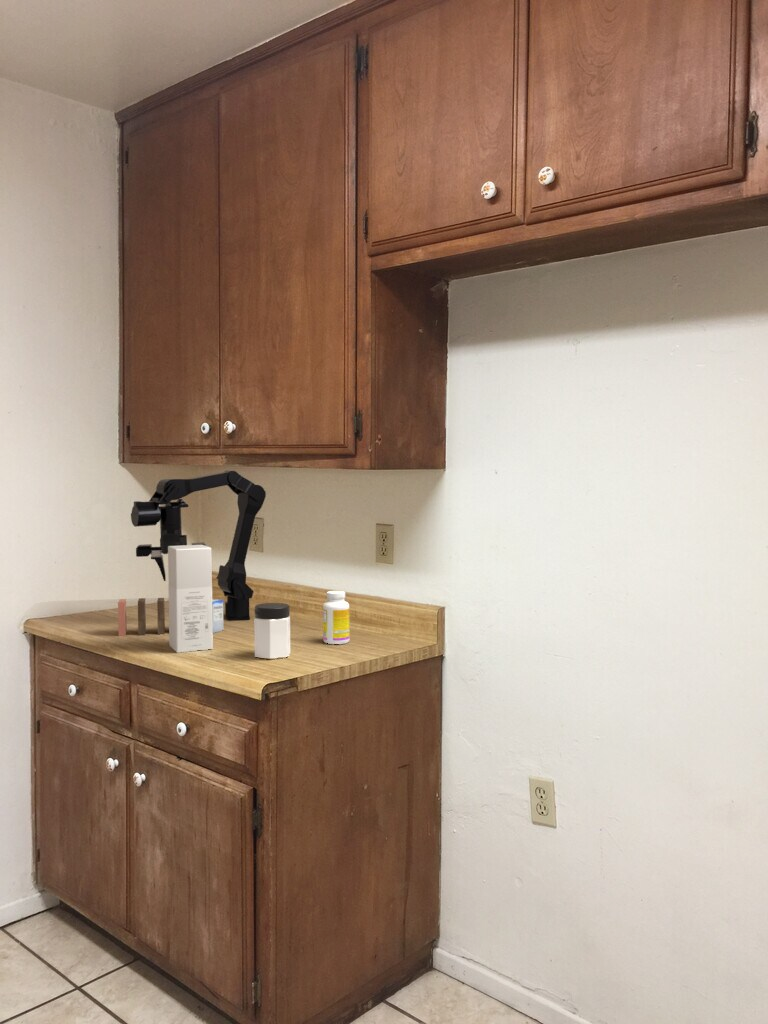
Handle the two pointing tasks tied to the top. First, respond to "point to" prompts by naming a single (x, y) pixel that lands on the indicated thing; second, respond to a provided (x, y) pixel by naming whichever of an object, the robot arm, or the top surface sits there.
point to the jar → (272, 630)
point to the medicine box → (217, 615)
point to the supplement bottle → (336, 618)
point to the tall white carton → (190, 598)
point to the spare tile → (122, 617)
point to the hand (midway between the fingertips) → (172, 580)
